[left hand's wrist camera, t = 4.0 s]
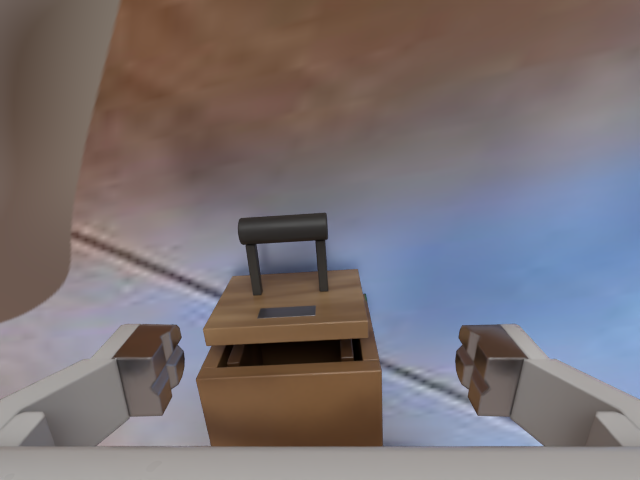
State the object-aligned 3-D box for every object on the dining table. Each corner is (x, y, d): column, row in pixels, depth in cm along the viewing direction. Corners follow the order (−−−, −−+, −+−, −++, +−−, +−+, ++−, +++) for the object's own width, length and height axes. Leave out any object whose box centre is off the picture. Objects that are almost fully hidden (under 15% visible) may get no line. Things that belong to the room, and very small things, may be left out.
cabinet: (232, 300, 30) (194, 379, 21) (365, 293, 29) (382, 370, 21) (263, 480, 36) (244, 593, 28) (371, 476, 36) (385, 590, 28)
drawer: (220, 208, 26) (184, 242, 19) (355, 199, 25) (365, 231, 19) (263, 459, 34) (247, 545, 28) (364, 455, 34) (374, 541, 27)
